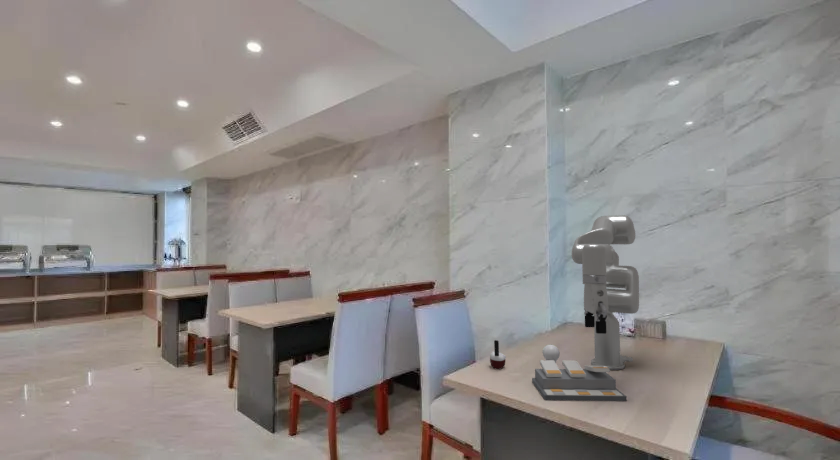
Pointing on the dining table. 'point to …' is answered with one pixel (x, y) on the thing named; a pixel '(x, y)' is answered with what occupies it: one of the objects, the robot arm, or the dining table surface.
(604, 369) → the switch
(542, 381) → the switch unit
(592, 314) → the robot arm
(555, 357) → the lightbulb
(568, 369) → the switch
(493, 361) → the cocoa
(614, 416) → the dining table surface
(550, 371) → the switch
